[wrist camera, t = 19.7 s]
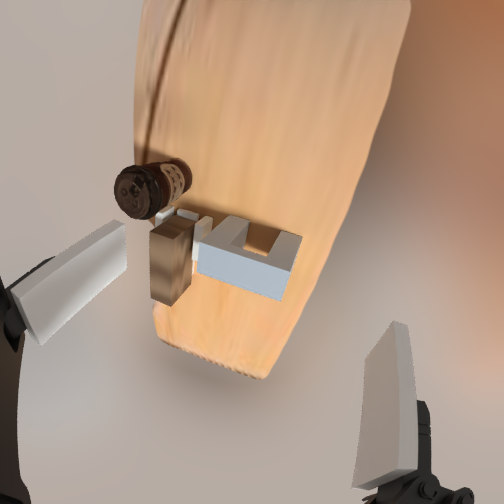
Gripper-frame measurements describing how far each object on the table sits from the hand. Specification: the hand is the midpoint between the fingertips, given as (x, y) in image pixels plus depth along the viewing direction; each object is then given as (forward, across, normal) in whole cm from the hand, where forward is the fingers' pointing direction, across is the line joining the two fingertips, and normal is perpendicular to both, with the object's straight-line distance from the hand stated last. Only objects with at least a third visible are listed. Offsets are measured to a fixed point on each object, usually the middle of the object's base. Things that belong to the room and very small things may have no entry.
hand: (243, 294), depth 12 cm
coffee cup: (+32, -22, -8) cm, 40 cm away
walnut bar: (+31, -19, -22) cm, 42 cm away
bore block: (+32, -5, -14) cm, 35 cm away
